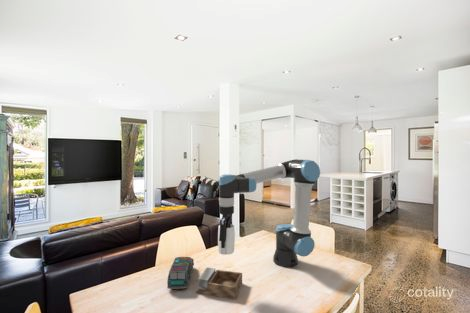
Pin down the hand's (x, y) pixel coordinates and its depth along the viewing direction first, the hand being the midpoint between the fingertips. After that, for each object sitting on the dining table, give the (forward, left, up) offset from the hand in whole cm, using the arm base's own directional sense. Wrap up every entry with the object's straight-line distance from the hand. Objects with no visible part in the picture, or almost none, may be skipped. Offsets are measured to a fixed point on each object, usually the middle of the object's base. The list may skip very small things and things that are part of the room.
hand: (226, 250), depth 120 cm
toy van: (+27, -4, -20) cm, 34 cm away
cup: (0, 0, -2) cm, 2 cm away
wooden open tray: (+3, 0, -20) cm, 20 cm away
